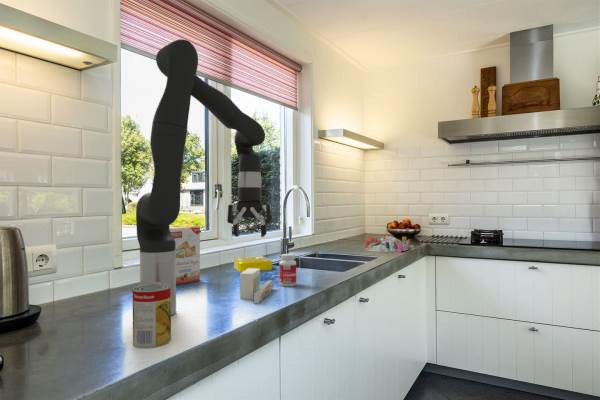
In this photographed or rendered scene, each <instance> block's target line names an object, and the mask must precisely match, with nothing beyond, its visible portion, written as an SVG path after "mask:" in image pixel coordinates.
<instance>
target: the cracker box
mask: <svg viewBox="0 0 600 400" xmlns="http://www.w3.org/2000/svg"><path fill="white" fill-rule="evenodd" d="M170 233H171V236H172V237H173V239H174V240H175V244H176V249H175V250H176V285H180V284H181V285H182V284H186V283H187V284H188V283H193V282H197V281H200V278H201V276H200V274H201V273H200V267H201V265H200V264H201V261H200V260H201V227H200V226H190V225H189V226H174V227H170Z"/></svg>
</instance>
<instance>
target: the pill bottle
mask: <svg viewBox="0 0 600 400" xmlns="http://www.w3.org/2000/svg"><path fill="white" fill-rule="evenodd" d="M280 258H281V260H280V261H279V265H278V267H279V271H278V274H279V277H278V282H279V286H281V287H295V286H296V285H297V261H296V260H295V254H293V253H283V254H281V255H280Z"/></svg>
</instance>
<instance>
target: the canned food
mask: <svg viewBox="0 0 600 400" xmlns="http://www.w3.org/2000/svg"><path fill="white" fill-rule="evenodd" d="M171 341H172V315H171V286H170V285H169V284H159V283H157V284H145V285H136V286H133V288H132V345H133V346H134V347H136V348H139V349H152V348H158V347H162V346H165V345H167V344H170V342H171Z"/></svg>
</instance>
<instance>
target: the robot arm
mask: <svg viewBox="0 0 600 400" xmlns="http://www.w3.org/2000/svg"><path fill="white" fill-rule="evenodd" d="M155 62H156V66H157V68H158V70H159V72H161V73H162V74H163V75H164V76H165V77H166V84H165V88H164V91H163V94H162V97H160V101H159V102H158V105H157V108H156V110H155V111H154V115H153V119H152V124H151V125H152V126H151V130H150V151H151V156H152V161H153V168H154V169H153V171H154V173H153V181H152V185H151V186H152V187H151V191H150V192H147V193H144V194H143V195H142V196H141V197H140V198H139V200H138V201H137V203H136V208H135V219H136V221H135V222H136V238H137V242H138V245H139V282H138V283H139V285H145V284H157V283H159V284H169V285H170V286H171V316H172V315H173V316H174V315H175V314H176V312H177V284H176V250H175V249H176V244H175V240H174V239H173V237H172V236H171V233H170V228H171V226H170V225H172V224H173V223H174V222H175V221H176V220H177V219H178V217H179V215H180V211H181V180H182V170H183V163H184V156H185V155H184V153H185V148H186V147H185V146H186V141H187V134H188V126H189V125H188V123H189V116H190V107H191V98H194V99H195V100H197V101H198V102H199V103H201V105H202V106H204V107H205V108H206V110H208V111H209V112H210V113H211V114H212V116H214V117H215V118H216V119H217V120H218V121H219V122H220V123H221V124H222V125H223V126H224V127H225V128H227V129H229V130H235V133H234V145H235V150H236V155H237V157H238V177H237V178H238V179H237V204H230V203H229V204H228V206H227V219H226V221H227V223H229V224H231V225H233V226H232V228H233V235H234V236H235V238H237V237H239V236H240V224H239V223H240V222H241V221H242V220H243V219H248V218H251V219H255V218H256V219H257V220H258V221H259V222H260V224H261V225H260V237H261V238H263V237H265V236H266V235H267V225H268V224H271V223H273V213H272V211H273V210H272V205H271V203H270V204H264V205H263V202H262V174H261V173H262V169H261V168H262V166H261V164H262V163H261V157H260V155H259V154H256V153H255V152H254V147H257V146H260V145H262V144H263V143H264V142H265V139H266V132H265V130H264V128H263V126H262V125H261V124H260V123H259V122H258V121H257V120H255V119H254V118H252V117H251V116H249V114H246V113H245V112H243V111H242V110H241V109H240V108H239V107H238V106H237V105H236V104H235V103H234V101H232V99H230V97H228V96H227V95H226V94H225V93H223V92H222V91H220V90H219V89H217V88H216V87H215V86H214V87H213V86H212V85H211V84H209V83H207V82H205V81H204V80H203V79H201V77H200V76H198V75H197V71H198V66H199V56H198V51H197V49H196V48H195V46H194V44H193V43H191V42H190V41H189V40H187V39H184V38H183V39H181V38H180V39H176V40H173V41H172V42H170V43H168V44H167V45H165V46H163V47H162V48H160V49H159V50H158V52H157V53H156V55H155ZM236 210H237V211H238V212H239V213H238V214H237V215H236V217H235V219H234V214H235V211H236ZM263 210H264V212H266V219H265V217H264V216H263V215H262V213H261V212H262V211H263ZM139 285H138V286H139Z"/></svg>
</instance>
